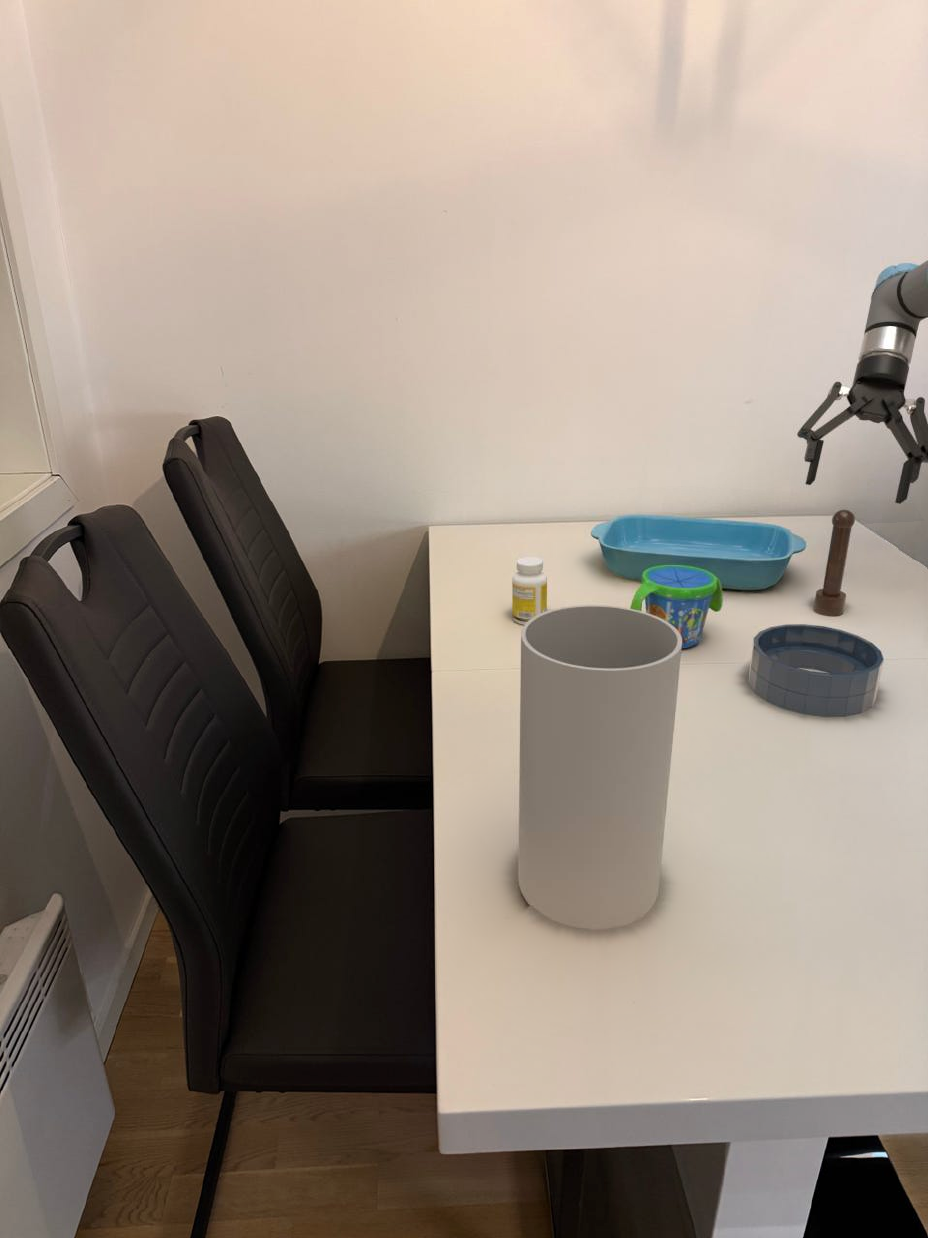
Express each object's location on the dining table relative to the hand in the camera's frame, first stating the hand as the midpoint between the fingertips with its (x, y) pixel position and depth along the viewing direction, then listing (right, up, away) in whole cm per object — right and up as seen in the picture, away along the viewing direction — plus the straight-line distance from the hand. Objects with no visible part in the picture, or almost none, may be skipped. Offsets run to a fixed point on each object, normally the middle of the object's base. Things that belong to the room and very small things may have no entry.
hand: (855, 491), depth 130 cm
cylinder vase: (-49, -44, -54) cm, 85 cm away
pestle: (-3, -18, +4) cm, 19 cm away
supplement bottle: (-50, -20, +3) cm, 54 cm away
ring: (-16, -29, -21) cm, 40 cm away
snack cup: (-29, -23, -5) cm, 38 cm away
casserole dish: (-19, -11, +22) cm, 31 cm away
